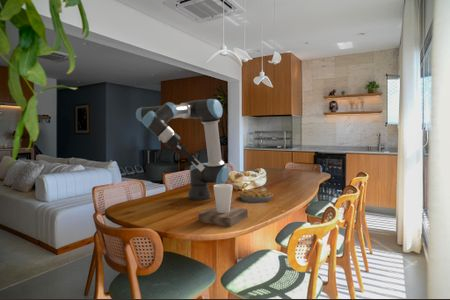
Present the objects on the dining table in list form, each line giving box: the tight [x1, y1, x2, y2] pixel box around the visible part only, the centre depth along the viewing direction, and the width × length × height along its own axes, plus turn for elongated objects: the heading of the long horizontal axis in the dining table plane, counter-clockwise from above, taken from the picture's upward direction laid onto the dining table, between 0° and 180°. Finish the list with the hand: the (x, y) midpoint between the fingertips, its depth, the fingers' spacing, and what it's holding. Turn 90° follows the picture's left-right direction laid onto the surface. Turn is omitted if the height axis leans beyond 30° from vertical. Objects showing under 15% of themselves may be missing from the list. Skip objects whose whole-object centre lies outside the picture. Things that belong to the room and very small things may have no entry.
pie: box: [238, 189, 273, 203], centre depth 189 cm, size 22×22×5 cm
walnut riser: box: [197, 205, 249, 228], centre depth 145 cm, size 18×18×4 cm
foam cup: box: [213, 183, 234, 213], centre depth 145 cm, size 10×9×13 cm
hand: (201, 167), depth 143 cm, fingers open, 13 cm apart
